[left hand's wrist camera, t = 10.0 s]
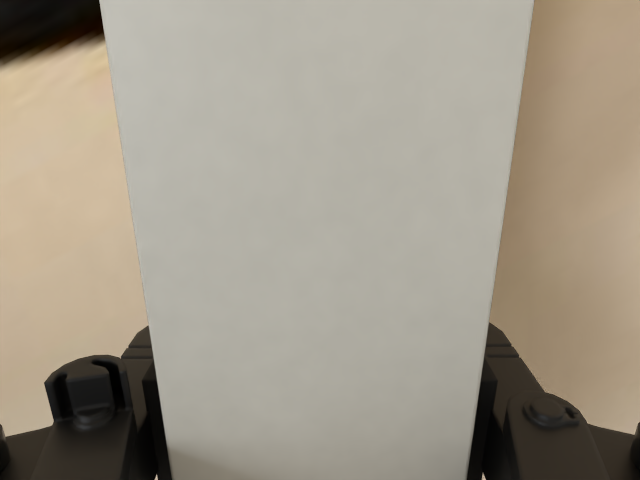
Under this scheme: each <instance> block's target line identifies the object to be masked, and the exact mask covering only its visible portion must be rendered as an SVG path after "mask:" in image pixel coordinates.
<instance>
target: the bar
mask: <svg viewBox="0 0 640 480" xmlns="http://www.w3.org/2000/svg"><path fill="white" fill-rule="evenodd" d="M99 1H100V7H101V14H102V20H103V27H104V34H105V40H106V47H107V53H108V60H109V67H110V73H111V80H112V86H113V93H114V99H115V106H116V113H117V119H118V126H119V132H120V139H121V146H122V152H123V159H124V165H125V172H126V179H127V185H128V192H129V198H130V205H131V212H132V218H133V225H134V231H135V238H136V245H137V251H138V258H139V264H140V271H141V278H142V284H143V291H144V297H145V304H146V311H147V317H148V324H149V330H150V337H151V344H152V350H153V357H154V363H155V370H156V377H157V383H158V390H159V396H160V403H161V410H162V416H163V423H164V429H165V436H166V442H167V449H168V456H169V462H170V469H171V475H172V480H467V473H468V466H469V459H470V452H471V445H472V438H473V430H474V423H475V416H476V409H477V402H478V395H479V388H480V381H481V374H482V367H483V360H484V353H485V346H486V339H487V332H488V325H489V318H490V311H491V304H492V297H493V289H494V282H495V275H496V268H497V261H498V254H499V247H500V240H501V233H502V226H503V219H504V212H505V205H506V198H507V191H508V184H509V177H510V170H511V163H512V156H513V148H514V141H515V134H516V127H517V120H518V113H519V106H520V99H521V92H522V85H523V78H524V71H525V64H526V57H527V50H528V43H529V36H530V29H531V22H532V14H533V7H534V0H99Z"/></svg>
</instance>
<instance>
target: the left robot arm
mask: <svg viewBox="0 0 640 480" xmlns="http://www.w3.org/2000/svg"><path fill="white" fill-rule="evenodd" d="M44 384H45V388H46V392H47V396H48V400H49V403H50V407H51V411H52V415H53V419H54V423H53V425H52V426H50V427H46V428H43V429H39V430H35V431H30V432H26V433H21V434H17V435H12V436H8V437H5V434H4V431H3V428H2V425H1V424H0V480H154V479H155V477H156V474H157V477H158V480H172V475H171V469H170V462H169V456H168V449H167V442H166V436H165V429H164V423H163V416H162V410H161V403H160V396H159V390H158V383H157V377H156V370H155V363H154V357H153V350H152V344H151V337H150V330H149V325H148V326H147V327H145V328H144V329H143V330H141V331H140V332H138V333H137V334H136V336H135V337H134V339H133V340H132V342H131V343H130V344H129V347H128V348H127V349H126V350H125V352H124V353H123V355H122V356H121V359H120V358H119V357H115V356H111V355H93V356H89V357H84V358H80V359H77V360H75V361H72V362H70V363H68V364H65V365H63V366H62V367H60V368H59V369H57V370H56V371H55V372H53V373H52V374H51V375H50V376H49V377H48V379H47V380H46V381H45V382H44ZM483 473H484V476H485V478H486V480H640V422H639V423H638V426H637V429H636V432H635V435H632V434H628V433H623V432H619V431H614V430H610V429H605V428H601V427H597V426H593V425H590V424H587V422H586V420H585V418H584V417H583V416H582V414H581V413H580V411H579V410H578V409H576V408H575V407H574V406H573V405H571V404H570V403H569V402H568V401H566V400H563V399H561V398H559V397H557V396H555V395H553V394H549V393H545V392H544V390H543V389H542V387H541V386H540V385H539V383H538V382H537V380H536V379H535V377H534V376H533V375H532V373H531V372H530V370H529V369H528V367H527V366H526V365H525V363H524V362H523V360H522V359H521V358H519V355H518V353H517V352H516V350H515V349H514V347H511V343H510V342H509V340H508V339H507V337H506V336H505V334H504V333H503V332H502V331H501V330H499V329H498V328H497V327H495V326H494V325H492V324H491V323H489V325H488V332H487V339H486V346H485V353H484V360H483V367H482V374H481V381H480V388H479V395H478V402H477V409H476V416H475V423H474V430H473V438H472V445H471V452H470V459H469V466H468V473H467V480H482V474H483Z"/></svg>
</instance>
